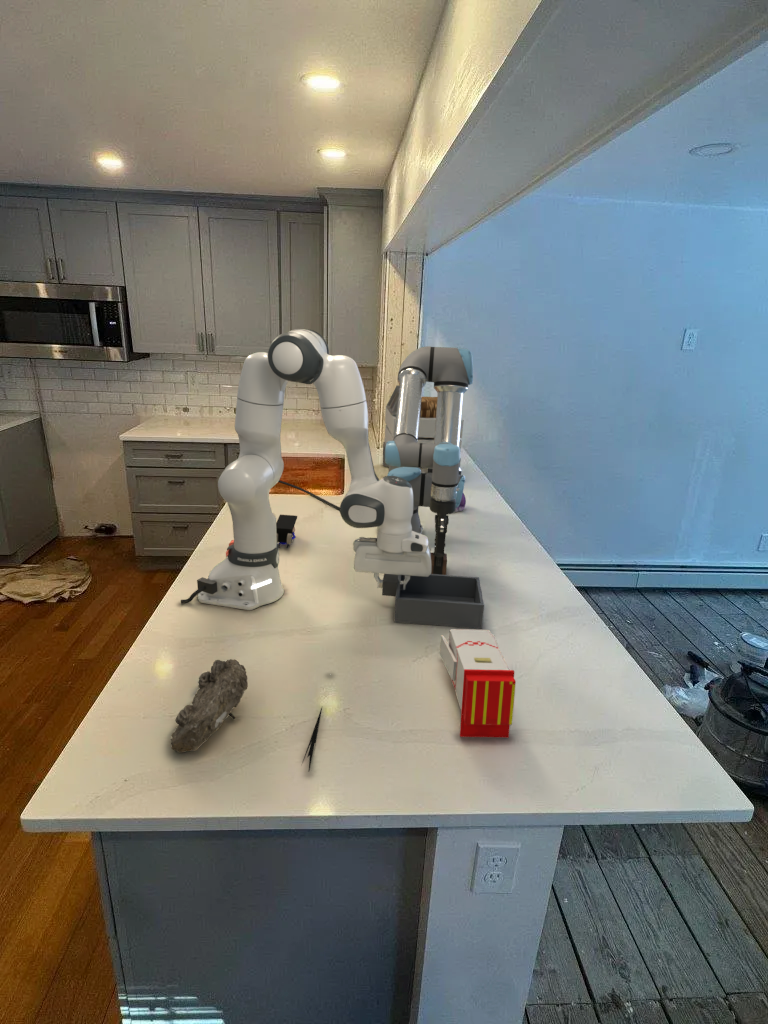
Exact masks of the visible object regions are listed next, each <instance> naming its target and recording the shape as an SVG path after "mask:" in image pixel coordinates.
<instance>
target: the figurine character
mask: <svg viewBox="0 0 768 1024" xmlns="http://www.w3.org/2000/svg"><path fill="white" fill-rule="evenodd" d="M297 520H298V515H291V514H279V516H278V518H277V519H276V532H277V543H278V548H279V549H281V545H283V546H285V548H286V549H289V548H290V545H292V543H293V540H295V539H296V534H295V532H296V528H295V525H296V522H297Z"/></svg>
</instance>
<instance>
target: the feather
mask: <svg viewBox="0 0 768 1024" xmlns="http://www.w3.org/2000/svg"><path fill="white" fill-rule="evenodd" d="M329 675H330V676H331V675H332V674H331V673H330V674H329ZM322 710H323V707H321V708H320V710H319V713H318V716H317V719H316V723H315V725H314V728H313V731H312V733H311V737H310V739H309V742H308V745H307V748H306V751H305V754H304V757H303V760H302V763H301V767H302V765H303V763H304V761H305V758H308V759H309V760H308V762H307V763H308V764H307V766H308V771H310V770H311V766H312V765H311V764H312V760H313V757H315V756H314V755H315V751H316V749H315V746H317V739H318V733H319V729H320V722H321V717H322V712H323V711H322ZM313 754H314V755H313ZM306 755H307V757H306Z"/></svg>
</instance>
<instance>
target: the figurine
mask: <svg viewBox="0 0 768 1024" xmlns="http://www.w3.org/2000/svg"><path fill="white" fill-rule="evenodd" d="M466 503H467V500H466V496H465V493H464V492H463V494H462V498H461V502H460V505H459V506H458V507H457V508H456V509H455V512H454V513H457V512H463V511H464V510H465V507H466Z"/></svg>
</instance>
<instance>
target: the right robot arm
mask: <svg viewBox="0 0 768 1024" xmlns="http://www.w3.org/2000/svg"><path fill="white" fill-rule="evenodd" d="M473 360H474V359H473V355H472V351H471V350H470V349H468V348H461V347H447V346H446V347H445V346H426V345H425V346H421V347H418V348H417V349H414V350H413V351H412V352H410V353H409V354H408V355H407V356H406V358H405V359H403V361H402V363H401V364H400V367H399V369H398V372H397V383H398V385H399V386H400V389H399V397H398V405H397V414H396V422H395V431H394V439H393V441H388V442H387V443H386V447H385V463H386V464H387V465H390V466H397V467H399V468H395V469H393V470H391V471H390V472H389V471H388V473H387V475H386V476H397V477H400V478H403V479H405V480H406V481H408V482H409V483H410V484H411V486H412V489H413V515H412V518H411V525H412V531H414V532H417V533H419V534H422V535H423V530H424V527H423V525H422V524H421V518H420V515H419V508H420V507H421V508H422V507H424V508H429V510H430V512H432V513H434V514H435V515H434V532H435V535H434V537H435V538H434V548H433V552H432V553H433V555H434V568H433V574H439V575H442V571H443V559H444V553H445V548H446V536H447V533H448V525H449V520H450V519H449V515H452V514H454V513H456V512H455V509H456V508H457V507H458V506H459V505H460V502H461V498H462V494H463V493H464V488H465V483H466V476H465V475H463V474H462V469H461V467H460V468H459V465H460V466H461V462H460V459H461V460H462V458H461V454H460V448H459V440H461V438H460V427H461V419H462V412H463V400H464V394H465V393H466V392H467V391H468V390H469V386H471V385H472V384H473V383H474V362H473ZM427 383H433V389H434V390H435V391H436V393H437V396H436V397H437V409H436V423H435V436H434V444H428V443H418V432H419V421H420V410H421V400H422V397H423V389H424V387H425V385H426V384H427ZM422 469H427V472H422ZM278 483H279V484H283V485H285V486H288V487H291V488H293V489H296V490H299V491H301V492H304V494H307V495H309V496H311V497H313V498H316V499H317V500H319V501H321V502H323V503H324V504H327V505H328V506H330V507H332V508H334V509H336V510H338V511H340V506H337V505H336V504H334V503H332V502H330V501H328V500H327V499H324V498H322V497H321V496H318V495H316V494H315V493H313V492H310V491H308V490H306V489H304V488H302V487H300V486H298V485H295V484H292V483H289V482H286V481H283V480H279V481H278Z"/></svg>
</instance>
